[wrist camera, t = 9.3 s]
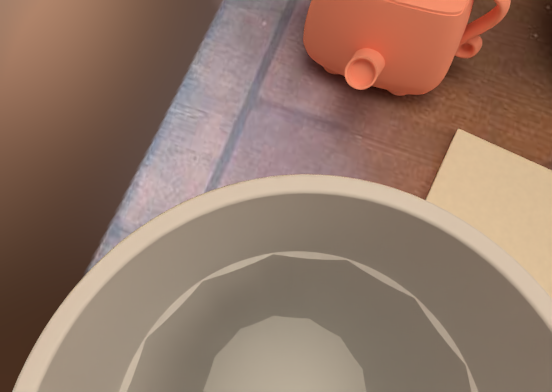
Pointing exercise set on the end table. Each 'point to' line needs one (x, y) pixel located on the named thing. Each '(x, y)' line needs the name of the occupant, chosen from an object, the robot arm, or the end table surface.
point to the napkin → (499, 200)
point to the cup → (300, 300)
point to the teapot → (395, 40)
